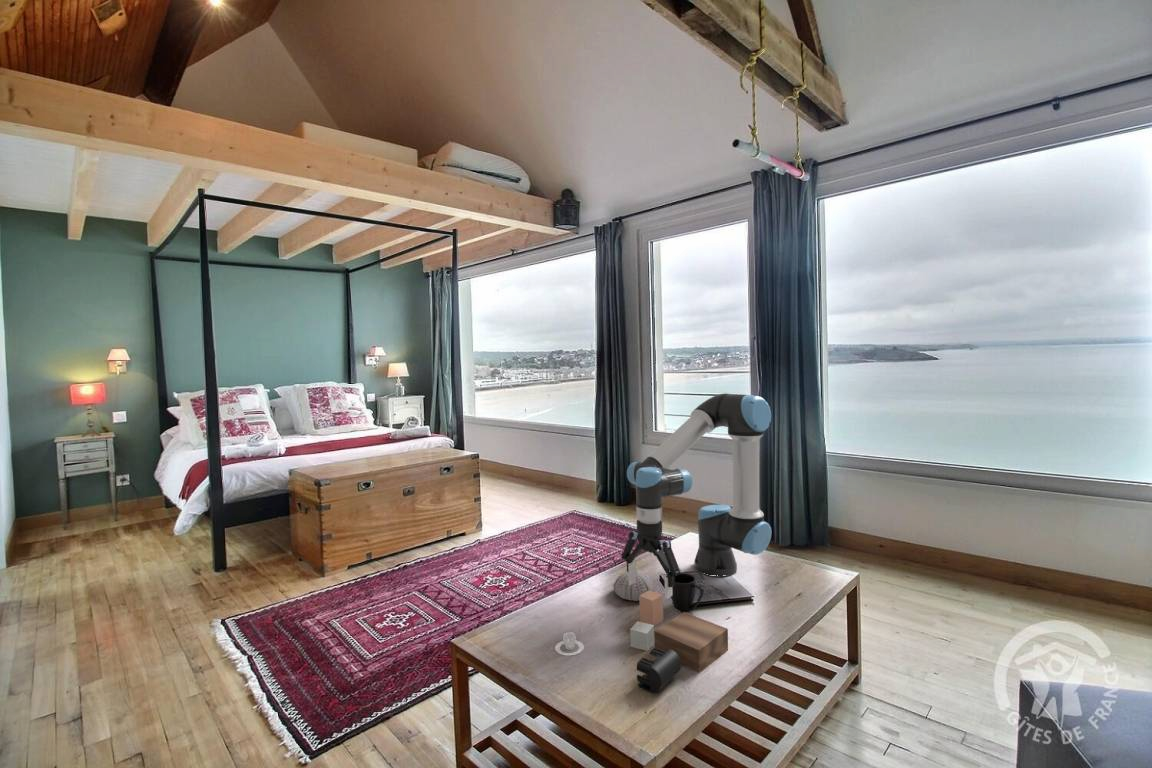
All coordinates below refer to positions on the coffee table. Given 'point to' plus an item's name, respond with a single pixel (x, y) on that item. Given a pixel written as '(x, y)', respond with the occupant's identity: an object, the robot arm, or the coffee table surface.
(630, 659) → the coffee table surface
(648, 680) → the end cap
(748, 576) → the coffee table surface
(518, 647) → the coffee table surface
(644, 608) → the terracotta block
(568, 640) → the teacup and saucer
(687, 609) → the mug
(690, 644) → the walnut block
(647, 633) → the grey cube
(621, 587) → the sea urchin shell
